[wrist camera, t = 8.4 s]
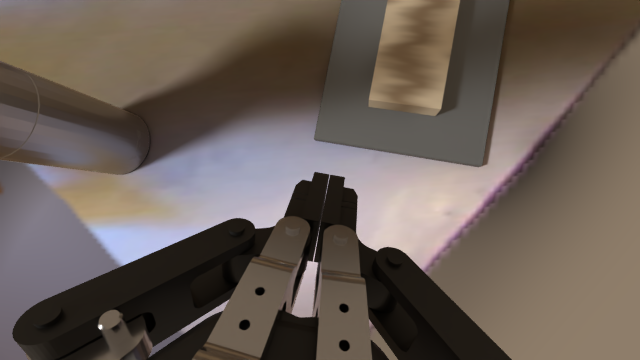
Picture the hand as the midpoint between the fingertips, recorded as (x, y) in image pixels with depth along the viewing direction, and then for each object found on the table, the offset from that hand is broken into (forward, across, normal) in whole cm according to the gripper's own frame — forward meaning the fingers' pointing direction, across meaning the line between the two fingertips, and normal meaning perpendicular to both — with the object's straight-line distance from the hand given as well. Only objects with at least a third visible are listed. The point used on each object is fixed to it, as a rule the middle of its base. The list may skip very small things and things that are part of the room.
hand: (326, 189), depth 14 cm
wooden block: (+22, -7, +2) cm, 23 cm away
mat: (+29, -7, -3) cm, 30 cm away
